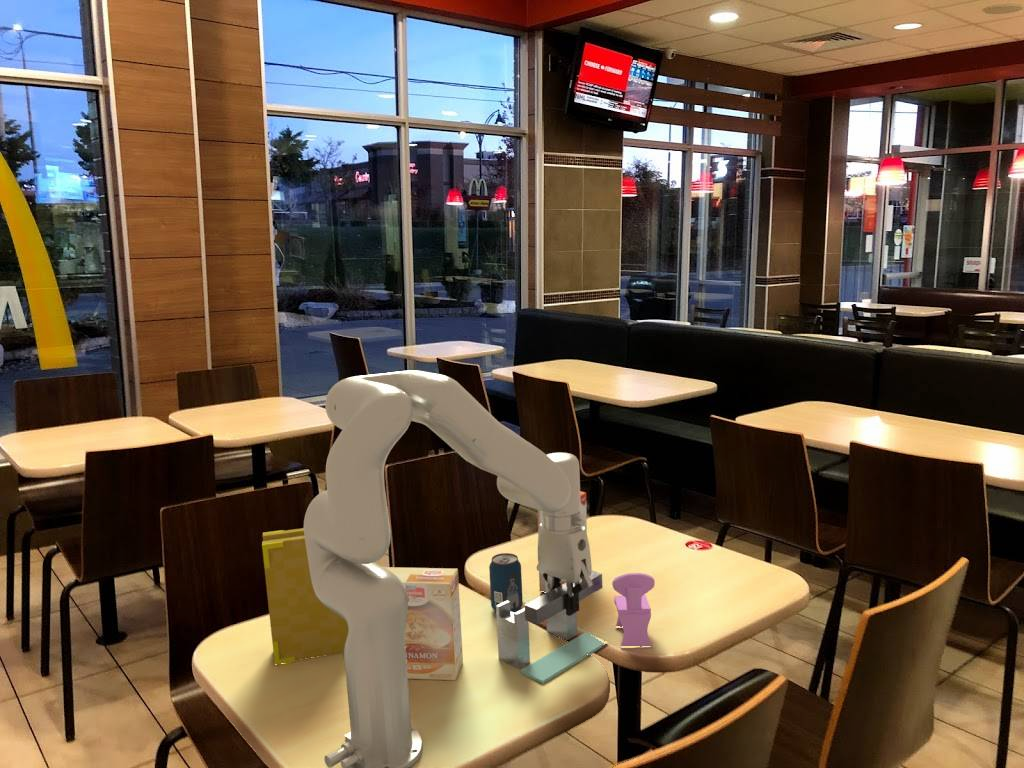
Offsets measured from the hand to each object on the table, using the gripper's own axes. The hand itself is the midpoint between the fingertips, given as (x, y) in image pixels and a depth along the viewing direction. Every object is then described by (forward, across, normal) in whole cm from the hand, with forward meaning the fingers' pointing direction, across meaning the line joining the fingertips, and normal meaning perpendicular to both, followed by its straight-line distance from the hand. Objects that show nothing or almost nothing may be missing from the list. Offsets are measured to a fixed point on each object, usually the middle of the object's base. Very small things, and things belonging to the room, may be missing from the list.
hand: (565, 609), depth 153 cm
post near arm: (+10, +7, +8) cm, 14 cm away
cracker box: (+11, +22, -24) cm, 35 cm away
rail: (-1, 0, 0) cm, 1 cm away
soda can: (+10, +23, -6) cm, 26 cm away
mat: (+10, 0, +1) cm, 10 cm away
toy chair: (+11, -5, -14) cm, 19 cm away
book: (+10, +40, +31) cm, 51 cm away
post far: (+10, +7, -6) cm, 14 cm away
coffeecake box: (+10, +18, +22) cm, 30 cm away
